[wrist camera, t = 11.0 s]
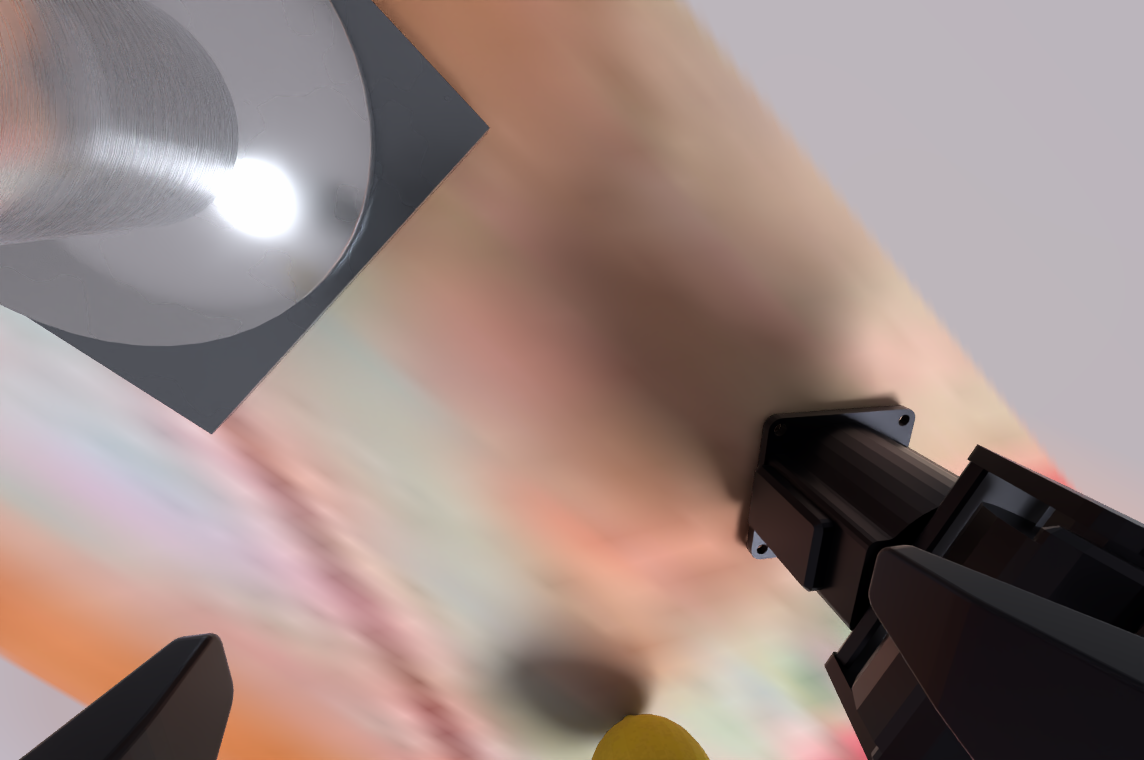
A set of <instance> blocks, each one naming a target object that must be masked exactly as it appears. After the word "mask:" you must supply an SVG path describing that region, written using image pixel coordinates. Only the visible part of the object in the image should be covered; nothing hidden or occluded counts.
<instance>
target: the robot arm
mask: <svg viewBox="0 0 1144 760" xmlns="http://www.w3.org/2000/svg"><path fill="white" fill-rule="evenodd" d="M901 416H902V418H901V419H900V417H901ZM899 419H900V420H899ZM914 421H915V414H914V412H913V411H912V410H911V409H909V408H906V407H904V406H901V405H897V406H883V407H869V408H855V409H841V410H827V411H813V412H799V413H785V414H775V415H772V416H770V417H769V418H768V419H767V420H766V421H765V423H764V426H763V432H762V439H761V446H760V454H759V461H758V467H757V469H756V471H755V474H754V481H753V489H752V496H751V503H750V510H749V518H748V523H749V532H748V540H747V549H748V551H749V552H750V553H751V554H752V556H753V557H754V558H756V559H766V558H774V557H777V558H778V559H779V560H780V561H781V562H782V563H783V565H784V566H785V567H786V568H787V569H788V570H789V572H790V573H791V574H792V575H793V576H794V577H795V579H796V580H797V581H798V582H799V583H800V584H801V586H803V587H804V588H805V589H806V590H807V591H817V592H818V594H819V595H820V596H821V597H822V598H823V599H824V600H825V601H826V603H827V604H828V605H829V606H830V607H831V608H832V609H833V611H834V612H835V613H836V614H837V615H838V616H839V617H840V618H841V620H842V621H843V622H844V623H845V624H846V625H847V626H848V628H849V629H850V630H851V631H852V632H851V633H850V635H849V636H848V638H847V639H846V640H845V642H844V643H843V645H842V646H841V648H840V649H839V650H838V652H833V653H832V655H831V656H830V658H829V659H828V661H827V662H826V663H825V668H826V670H827V672H828V675H829V677H830V679H831V681H832V683H833V685H834V687H835V690H836V692H837V694H838V696H839V698H840V700H841V703H842V705H843V707H844V709H845V711H846V713H847V716H848V718H849V720H850V722H851V724H852V726H853V728H854V731H855V733H856V735H857V737H858V739H859V741H860V744H861V746H862V748H863V750H864V752H865V754H866V757H867V759H868V760H1144V524H1143V523H1141V522H1139V521H1137V520H1134V519H1132V518H1130V517H1128V516H1126V515H1124V514H1122V513H1120V512H1118V511H1116V510H1114V509H1112V508H1110V507H1108V506H1106V505H1104V504H1102V503H1100V502H1098V501H1096V500H1094V499H1091V498H1089V497H1087V496H1085V495H1083V494H1081V493H1079V492H1077V491H1075V490H1073V489H1071V488H1069V487H1067V486H1065V485H1063V484H1060V483H1058V482H1056V481H1054V480H1052V479H1050V478H1048V477H1046V476H1043V475H1041V474H1039V473H1037V472H1035V471H1033V470H1031V469H1029V468H1027V467H1024V466H1022V465H1020V464H1018V463H1016V462H1014V461H1012V460H1010V459H1007V458H1005V457H1003V456H1001V455H999V454H997V453H995V452H993V451H990V450H988V449H986V448H984V447H982V446H980V445H978V444H977V446H976V447H975V449H974V450H973V452H972V453H971V454H970V456H969V457H968V460H969V461H970V462H969V464H968V465H967V467H966V468H965V469H964V471H963V472H962V474H961V475H960V477H959V476H957V475H955V474H954V473H952V472H950V471H948V470H947V469H945V468H943V467H942V466H940V465H938V464H936V463H935V462H933V461H931V460H929V459H928V458H926V457H924V456H923V455H921V454H919V453H917V452H916V451H914V450H912V449H910V448H909V447H908V446H909V442H910V438H911V433H912V429H913V425H914ZM780 424H781V426H780V429H779V430H777V431H775V432H774V430H775V428H776V427H777V426H778V425H780ZM760 545H762V546H761V547H760V548H758V547H759V546H760ZM232 701H233V682H232V678H231V674H230V670H229V666H228V663H227V659H226V655H225V651H224V648H223V644H222V641H221V639H220V638H219V636H218V635H216V634H213V633H207V634H199V635H192V636H184V637H180V638H177V639H175V640H174V641H172V642H171V643H169V644H168V645H167V646H165V647H164V648H163V649H161V650H160V651H159V652H158V653H156V654H155V655H154V656H152V657H151V658H150V659H149V660H147V661H146V662H145V663H143V664H142V665H141V666H140V667H138V668H137V669H136V670H134V671H133V672H132V673H130V674H129V675H128V676H127V677H125V678H124V679H123V680H121V681H120V682H119V683H118V684H116V685H115V686H114V687H112V688H111V689H110V690H109V691H107V692H106V693H105V694H103V695H102V696H101V697H99V698H98V699H97V700H96V701H94V702H93V703H92V704H90V705H89V706H88V707H87V708H85V709H84V710H83V711H81V712H80V713H79V714H78V715H76V716H75V717H74V718H72V719H71V720H70V721H68V722H67V723H66V724H65V725H63V726H62V727H61V728H59V729H58V730H57V731H56V732H54V733H53V734H52V735H51V736H49V737H48V738H47V739H45V740H44V741H43V742H41V743H40V744H39V745H37V746H36V747H35V748H34V749H32V750H31V751H30V752H29V753H27V754H26V755H25V756H23V757H22V758H21V759H19V760H217V756H218V753H219V749H220V746H221V742H222V738H223V735H224V731H225V728H226V724H227V721H228V717H229V713H230V710H231V706H232Z"/></svg>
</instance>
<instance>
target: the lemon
mask: <svg viewBox="0 0 1144 760" xmlns="http://www.w3.org/2000/svg"><path fill="white" fill-rule="evenodd" d="M592 760H710V759H709V758H708V756H707V754H706V753H705V751H704V750H703V749H702V747H701V746H700V745H699V743H698V742H697V741H696V740H695V739H694V738H693V737H692V736H691V735H690V734H689V733H688V732H687V731H686V730H685V729H684V728H683V727H681V726H680V725H678V724H676V723H675V722H673V721H671V720H669V719H667V718H665V717H661V716H657V715H652V714H641V715H635V716H634V715H627V716H626V717H624V719H623V720H622V721H620V722H619V723H617V724H615V725H614V726H613V727H612V728H611V729H610V730H609V731H607V733H606V734H605V735H604V737H603V738H602V740H601V741H600V742H599V744H598V746H597V748H596V750H595V752H594V755H593V757H592Z"/></svg>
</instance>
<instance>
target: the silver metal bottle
mask: <svg viewBox="0 0 1144 760" xmlns="http://www.w3.org/2000/svg"><path fill="white" fill-rule="evenodd" d="M238 141H239V136H238V122H237V116H236V111H235V107H234V104H233V100H232V97H231V94H230V91H229V89H228V87H227V85H226V82H225V80H224V78H223V76H222V74H221V73H220V71H219V69H218V67H217V66H216V64H215V62H214V61H213V59H212V58H211V57H210V55H209V54H208V53H207V51H206V50H205V48H204V47H203V46H202V45H201V44H200V43H199V42H198V41H197V39H196V38H195V37H194V36H193V35H192V34H191V33H190V32H189V31H188V30H187V29H186V28H185V27H183V26H182V25H181V24H180V23H179V22H178V21H177V20H175V19H174V18H173V17H171V16H170V15H169V14H167V13H166V12H165V11H163V10H162V9H160V8H159V7H157V6H155V5H154V4H152V3H150V2H149V1H147V0H0V245H7V244H15V243H24V242H32V241H41V240H49V239H58V238H66V237H75V236H83V235H92V234H100V233H109V232H117V231H126V230H135V229H143V228H152V227H159V226H167V225H170V224H174V223H178V222H181V221H183V220H186V219H188V218H190V217H193V216H194V215H196V214H197V213H199V212H201V211H202V210H204V209H205V208H206V207H207V206H209V205H210V204H211V203H212V202H213V201H214V200H215V199H216V198H217V197H218V195H219V194H220V193H221V192H222V191H223V189H224V187H225V186H226V184H227V182H228V181H229V179H230V176H231V174H232V171H233V169H234V166H235V162H236V157H237V153H238Z"/></svg>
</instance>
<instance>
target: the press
mask: <svg viewBox="0 0 1144 760" xmlns="http://www.w3.org/2000/svg"><path fill="white" fill-rule="evenodd" d="M147 1H149V2H150V3H152V4H154V5H155V6H157V7H159V8H160V9H162V10H163V11H165V12H166V13H167V14H169V15H170V16H171V17H173V18H174V19H175V20H177V21H178V22H179V23H180V24H181V25H182V26H183V27H185V28H186V29H187V30H188V31H189V32H190V33H191V34H192V35H193V36H194V37H195V38H196V39H197V41H198V42H199V43H200V44H201V45H202V46H203V47H204V48H205V50H206V51H207V53H208V54H209V55H210V57H211V58H212V59H213V61H214V62H215V64H216V66H217V67H218V69H219V71H220V73H221V74H222V76H223V78H224V80H225V82H226V85H227V87H228V89H229V91H230V94H231V97H232V100H233V104H234V107H235V111H236V116H237V122H238V136H239V141H238V153H237V157H236V162H235V166H234V169H233V171H232V174H231V176H230V179H229V181H228V182H227V184H226V186H225V187H224V189H223V191H222V192H221V193H220V194H219V195H218V197H217V198H216V199H215V200H214V201H213V202H212V203H211V204H210V205H209V206H207V207H206V208H205V209H204V210H202V211H201V212H199V213H197V214H196V215H194V216H193V217H190V218H188V219H186V220H183V221H181V222H178V223H174V224H170V225H167V226H159V227H152V228H143V229H135V230H126V231H117V232H109V233H100V234H92V235H83V236H75V237H66V238H58V239H49V240H41V241H32V242H24V243H15V244H7V245H0V304H1V305H3V306H4V307H7V308H9V309H11V310H13V311H15V312H18V313H20V314H22V315H24V316H26V317H28V318H30V319H31V320H33V321H34V322H36V323H37V324H39V325H41V326H42V327H44V328H45V329H47V330H48V331H50V332H52V333H53V334H55V335H56V336H58V337H59V338H61V339H63V340H64V341H66V342H67V343H69V344H70V345H72V346H74V347H75V348H77V349H78V350H80V351H81V352H83V353H85V354H86V355H88V356H89V357H91V358H92V359H94V360H96V361H97V362H99V363H100V364H102V365H103V366H105V367H107V368H108V369H110V370H111V371H113V372H114V373H116V374H118V375H119V376H121V377H122V378H124V379H125V380H127V381H129V382H130V383H132V384H133V385H135V386H136V387H138V388H140V389H141V390H143V391H144V392H146V393H147V394H149V395H151V396H152V397H154V398H155V399H157V400H158V401H160V402H162V403H163V404H165V405H166V406H168V407H170V408H171V409H173V410H174V411H176V412H177V413H179V414H181V415H182V416H184V417H185V418H187V419H188V420H190V421H192V422H193V423H195V424H196V425H198V426H199V427H201V428H203V429H204V430H206V431H207V432H209V433H210V434H212V433H213V432H215V431H216V430H217V429H218V428H219V427H220V426H221V425H222V424H223V423H224V422H225V421H226V420H227V419H228V418H229V417H230V416H231V415H232V414H233V413H234V412H235V411H236V409H237V408H238V407H239V406H240V405H241V404H242V403H243V402H244V401H245V400H246V398H247V397H248V396H249V395H250V394H251V393H252V392H253V391H254V390H255V389H256V387H257V386H258V385H259V384H260V383H261V382H262V381H263V380H264V379H265V377H266V376H267V375H268V374H269V373H270V372H271V371H272V370H273V369H274V368H275V366H276V365H277V364H278V363H279V362H280V361H281V360H282V359H283V358H284V357H285V355H286V354H287V353H288V352H289V351H290V350H291V349H292V348H293V347H294V346H295V344H296V343H297V342H298V341H299V340H300V339H301V338H302V337H303V336H304V335H305V333H306V332H307V331H308V330H309V329H310V328H311V327H312V326H313V325H314V323H315V322H316V321H317V320H318V319H319V318H320V317H321V316H322V315H323V314H324V312H325V311H326V310H327V309H328V308H329V307H330V306H331V305H332V304H333V303H334V301H335V300H336V299H337V298H338V297H339V296H340V295H341V294H342V293H343V292H344V290H345V289H346V288H347V287H348V286H349V285H350V284H351V283H352V282H353V281H354V279H355V278H356V277H357V276H358V275H359V274H360V273H361V272H362V271H363V269H364V268H365V267H366V266H367V265H368V264H369V263H370V262H371V261H372V260H373V258H374V257H375V256H376V255H377V254H378V253H379V252H380V251H381V250H382V249H383V247H384V246H385V245H386V244H387V243H388V242H389V241H390V240H391V239H392V238H393V236H394V235H395V234H396V233H397V232H398V231H399V230H400V229H401V228H402V227H403V225H404V224H405V223H406V222H407V221H408V220H409V219H410V218H411V217H412V215H413V214H414V213H415V212H416V211H417V210H418V209H419V208H420V207H421V206H422V204H423V203H424V202H425V201H426V200H427V199H428V198H429V197H430V196H431V195H432V193H433V192H434V191H435V190H436V189H437V188H438V187H439V186H440V185H441V184H442V182H443V181H444V180H445V179H446V178H447V177H448V176H449V175H450V174H451V173H452V171H453V170H454V169H455V168H456V167H457V166H458V165H459V164H460V163H461V161H462V160H463V159H464V158H465V157H466V156H467V155H468V154H469V153H470V152H471V150H472V149H473V148H474V147H475V146H476V145H477V144H478V143H479V142H480V141H481V139H482V138H483V137H484V136H485V135H486V134H487V133H488V130H489V128H490V127H489V126H488V125H487V124H486V123H485V122H484V121H483V120H482V119H481V118H480V117H479V116H478V115H477V113H476V112H475V111H474V110H473V109H472V108H471V107H470V106H469V105H468V104H467V103H466V102H465V101H464V100H463V98H462V97H461V96H460V95H459V94H458V93H457V92H456V91H455V90H454V89H453V88H452V87H451V86H450V84H449V83H448V82H447V81H446V80H445V79H444V78H443V77H442V76H441V75H440V74H439V73H438V72H437V70H436V69H435V68H434V67H433V66H432V65H431V64H430V63H429V62H428V61H427V60H426V59H425V58H424V56H423V55H422V54H421V53H420V52H419V51H418V50H417V49H416V48H415V47H414V46H413V45H412V44H411V43H410V41H409V40H408V39H407V38H406V37H405V36H404V35H403V34H402V33H401V32H400V31H399V30H398V29H397V27H396V26H395V25H394V24H393V23H392V22H391V21H390V20H389V19H388V18H387V17H386V16H385V15H384V13H383V12H382V11H381V10H380V9H379V8H378V7H377V6H376V5H375V4H374V3H373V2H372V1H371V0H147Z"/></svg>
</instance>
